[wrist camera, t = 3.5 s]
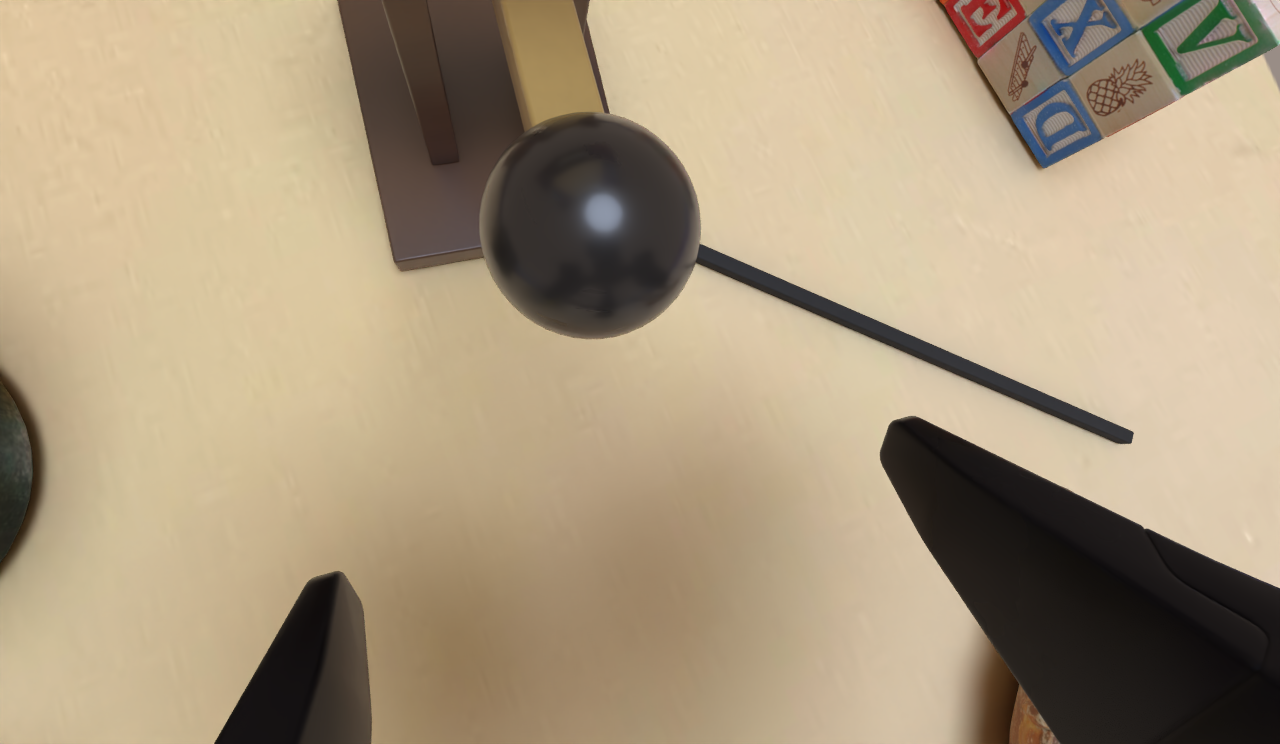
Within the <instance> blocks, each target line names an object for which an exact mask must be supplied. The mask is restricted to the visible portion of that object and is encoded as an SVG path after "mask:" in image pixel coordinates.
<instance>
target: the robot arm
mask: <svg viewBox="0 0 1280 744" xmlns="http://www.w3.org/2000/svg"><path fill="white" fill-rule="evenodd" d="M880 460H881V463H882V466H883V468H884V470H885V472H886V473H887V475H888V477H889V479H890V481H891V483H892V485H893V487H894V488H895V490H896V492H897V494H898V496H899V498H900V500H901V501H902V503H903V505H904V507H905V509H906V511H907V513H908V515H909V516H910V518H911V520H912V522H913V524H914V526H915V528H916V529H917V531H918V533H919V535H920V536H921V538H922V540H923V541H924V543H925V544H926V546H927V548H928V549H929V551H930V552H931V554H932V555H933V557H934V558H935V560H936V561H937V563H938V564H939V566H940V567H941V569H942V570H943V572H944V573H945V574H946V576H947V577H948V579H949V580H950V582H951V583H952V585H953V586H954V588H955V589H956V591H957V592H958V594H959V595H960V597H961V598H962V600H963V601H964V603H965V604H966V606H967V607H968V609H969V610H970V612H971V613H972V615H973V616H974V617H975V619H976V620H977V622H978V623H979V625H980V626H981V628H982V629H983V631H984V632H985V634H986V635H987V637H988V638H989V640H990V641H991V643H992V644H993V646H994V647H995V649H996V650H997V652H998V653H999V655H1000V656H1001V658H1002V659H1003V660H1004V662H1005V663H1006V665H1007V666H1008V668H1009V669H1010V671H1011V672H1012V674H1013V675H1014V677H1015V678H1016V680H1017V681H1018V683H1019V684H1020V686H1021V687H1022V689H1023V690H1024V692H1025V693H1026V695H1027V696H1028V698H1029V699H1030V701H1031V702H1032V703H1033V705H1034V706H1035V708H1036V709H1037V711H1038V712H1039V714H1040V715H1041V717H1042V718H1043V720H1044V721H1045V723H1046V724H1047V726H1048V727H1049V729H1050V730H1051V732H1052V733H1053V735H1054V736H1055V738H1056V739H1057V741H1058V742H1059V744H1280V588H1278V587H1275V586H1273V585H1270V584H1268V583H1266V582H1263V581H1261V580H1259V579H1256V578H1254V577H1252V576H1249V575H1247V574H1245V573H1243V572H1240V571H1238V570H1236V569H1233V568H1231V567H1229V566H1226V565H1224V564H1222V563H1220V562H1217V561H1215V560H1213V559H1211V558H1209V557H1206V556H1204V555H1202V554H1200V553H1198V552H1196V551H1194V550H1191V549H1189V548H1187V547H1185V546H1183V545H1181V544H1179V543H1177V542H1174V541H1172V540H1170V539H1168V538H1166V537H1164V536H1162V535H1160V534H1158V533H1156V532H1154V531H1152V530H1150V529H1144V528H1143V527H1142V526H1141V525H1139V524H1137V523H1135V522H1133V521H1131V520H1129V519H1127V518H1125V517H1123V516H1121V515H1119V514H1116V513H1114V512H1112V511H1110V510H1108V509H1106V508H1104V507H1102V506H1100V505H1098V504H1096V503H1094V502H1092V501H1090V500H1088V499H1086V498H1084V497H1081V496H1079V495H1077V494H1075V493H1073V492H1071V491H1069V490H1067V489H1065V488H1063V487H1061V486H1059V485H1057V484H1055V483H1053V482H1051V481H1049V480H1047V479H1044V478H1042V477H1040V476H1038V475H1036V474H1034V473H1032V472H1030V471H1028V470H1026V469H1024V468H1022V467H1020V466H1018V465H1016V464H1014V463H1012V462H1010V461H1007V460H1005V459H1003V458H1001V457H999V456H997V455H995V454H993V453H991V452H989V451H987V450H985V449H983V448H981V447H979V446H977V445H975V444H972V443H970V442H968V441H966V440H964V439H962V438H960V437H958V436H956V435H954V434H952V433H950V432H948V431H946V430H944V429H942V428H940V427H938V426H935V425H933V424H931V423H929V422H927V421H925V420H923V419H921V418H919V417H916V416H908V417H905V418H901V419H897V420H894V421H892V422H891V423H890V425H889V427H888V430H887V433H886V435H885V438H884V441H883V444H882V447H881V450H880ZM371 734H372V716H371V699H370V686H369V673H368V660H367V647H366V633H365V620H364V611H363V607H362V603H361V600H360V599H359V597H358V595H357V594H356V592H355V590H354V589H353V587H352V586H351V584H350V582H349V581H348V579H347V578H346V576H345V575H344V574H343V573H342V572H340V571H335V572H331V573H328V574H324V575H320V576H317V577H314V578H312V579H311V580H309V581H308V582H307V584H306V585H305V587H304V588H303V590H302V592H301V594H300V595H299V597H298V599H297V601H296V602H295V604H294V606H293V607H292V609H291V611H290V613H289V614H288V616H287V618H286V620H285V621H284V623H283V625H282V627H281V628H280V630H279V632H278V634H277V635H276V637H275V639H274V641H273V642H272V644H271V646H270V647H269V649H268V651H267V653H266V654H265V656H264V658H263V660H262V661H261V663H260V665H259V667H258V668H257V670H256V672H255V674H254V675H253V677H252V679H251V680H250V682H249V684H248V686H247V687H246V689H245V691H244V693H243V694H242V696H241V698H240V700H239V701H238V703H237V705H236V707H235V708H234V710H233V712H232V713H231V715H230V717H229V719H228V720H227V722H226V724H225V726H224V727H223V729H222V731H221V733H220V734H219V736H218V738H217V740H216V741H215V743H214V744H371Z"/></svg>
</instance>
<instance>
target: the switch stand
mask: <svg viewBox="0 0 1280 744" xmlns="http://www.w3.org/2000/svg"><path fill="white" fill-rule="evenodd" d="M337 1H338V5H339V10H340V15H341V19H342V24H343V28H344V33H345V38H346V42H347V47H348V52H349V56H350V61H351V65H352V70H353V75H354V79H355V84H356V89H357V93H358V98H359V102H360V107H361V112H362V116H363V121H364V125H365V130H366V135H367V139H368V144H369V149H370V153H371V158H372V162H373V167H374V172H375V176H376V181H377V186H378V190H379V195H380V199H381V204H382V209H383V213H384V218H385V223H386V227H387V232H388V236H389V241H390V246H391V250H392V255H393V260H394V262H395V264H396V265H397V266H398V268H399V269H400V271H406V270H412V269H417V268H423V267H429V266H435V265H441V264H446V263H452V262H458V261H464V260H470V259H475V258H481V257H484V255H483V251H482V248H481V241H480V233H479V213H480V205H481V200H482V196H483V192H484V189H485V186H486V182H487V180H488V178H489V175H490V173H491V171H492V169H493V168H494V166H495V164H496V163H497V161H498V160H499V158H500V157H501V155H502V154H503V152H504V151H505V150H506V149H507V148H508V147H509V146H510V145H511V143H512V142H514V141H515V140H516V139H517V138H518V137H520V136H521V135H522V134H523V133H525V131H524V127H523V123H522V119H521V115H520V111H519V107H518V103H517V99H516V95H515V91H514V87H513V83H512V79H511V75H510V71H509V67H508V63H507V59H506V55H505V51H504V47H503V44H502V40H501V36H500V32H499V28H498V24H497V20H496V16H495V12H494V8H493V4H492V0H337ZM589 1H590V0H573V2H574V5H575V9H576V12H577V16H578V20H579V23H580V27H581V30H582V34H583V38H584V41H585V45H586V48H587V52H588V56H589V59H590V63H591V66H592V70H593V74H594V77H595V81H596V84H597V88H598V91H599V95H600V99H601V102H602V106H603V109H604V113H607V114H610V113H609V109H608V105H607V101H606V97H605V93H604V89H603V84H602V80H601V76H600V72H599V68H598V64H597V60H596V56H595V52H594V48H593V44H592V40H591V36H590V32H589V28H588V24H587V20H586V19H587V13H588V7H589Z"/></svg>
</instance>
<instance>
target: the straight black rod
mask: <svg viewBox="0 0 1280 744" xmlns="http://www.w3.org/2000/svg"><path fill="white" fill-rule="evenodd" d="M696 262H697V263H699V264H702V265H704V266H706V267H709V268H711V269H713V270H716V271H718V272H720V273H723V274H725V275H727V276H730V277H732V278H734V279H737V280H739V281H741V282H744V283H746V284H748V285H750V286H753V287H755V288H757V289H760V290H762V291H764V292H767V293H769V294H771V295H774V296H776V297H778V298H781V299H783V300H785V301H788V302H790V303H792V304H795V305H797V306H799V307H802V308H804V309H806V310H809V311H811V312H813V313H816V314H818V315H820V316H823V317H825V318H827V319H830V320H832V321H834V322H837V323H839V324H841V325H844V326H846V327H848V328H851V329H853V330H855V331H858V332H860V333H862V334H865V335H867V336H869V337H872V338H874V339H876V340H879V341H881V342H883V343H886V344H888V345H890V346H893V347H895V348H897V349H900V350H902V351H904V352H907V353H909V354H911V355H914V356H916V357H918V358H921V359H923V360H925V361H928V362H930V363H932V364H935V365H937V366H939V367H942V368H944V369H946V370H949V371H951V372H953V373H956V374H958V375H960V376H963V377H965V378H967V379H970V380H972V381H974V382H977V383H979V384H981V385H984V386H986V387H988V388H991V389H993V390H995V391H998V392H1000V393H1002V394H1005V395H1007V396H1009V397H1012V398H1014V399H1016V400H1019V401H1021V402H1023V403H1026V404H1028V405H1030V406H1033V407H1035V408H1037V409H1040V410H1042V411H1044V412H1047V413H1049V414H1051V415H1054V416H1056V417H1058V418H1061V419H1063V420H1065V421H1068V422H1070V423H1072V424H1075V425H1077V426H1079V427H1082V428H1084V429H1086V430H1089V431H1091V432H1093V433H1096V434H1098V435H1100V436H1103V437H1105V438H1107V439H1110V440H1112V441H1114V442H1117V443H1119V444H1131V443H1132V439H1133V434H1134V433H1133V432H1132V431H1130V430H1128V429H1125V428H1123V427H1121V426H1119V425H1116V424H1114V423H1112V422H1109V421H1107V420H1105V419H1102V418H1100V417H1098V416H1095V415H1093V414H1091V413H1089V412H1086V411H1084V410H1082V409H1079V408H1077V407H1075V406H1072V405H1070V404H1068V403H1066V402H1063V401H1061V400H1059V399H1056V398H1054V397H1052V396H1049V395H1047V394H1045V393H1042V392H1040V391H1038V390H1036V389H1033V388H1031V387H1029V386H1026V385H1024V384H1022V383H1019V382H1017V381H1015V380H1013V379H1010V378H1008V377H1006V376H1003V375H1001V374H999V373H996V372H994V371H992V370H989V369H987V368H985V367H983V366H980V365H978V364H976V363H973V362H971V361H969V360H966V359H964V358H962V357H959V356H957V355H955V354H953V353H950V352H948V351H946V350H943V349H941V348H939V347H936V346H934V345H932V344H930V343H927V342H925V341H923V340H920V339H918V338H916V337H913V336H911V335H909V334H906V333H904V332H902V331H900V330H897V329H895V328H893V327H890V326H888V325H886V324H883V323H881V322H879V321H877V320H874V319H872V318H870V317H867V316H865V315H863V314H860V313H858V312H856V311H853V310H851V309H849V308H847V307H844V306H842V305H840V304H837V303H835V302H833V301H830V300H828V299H826V298H824V297H821V296H819V295H817V294H814V293H812V292H810V291H807V290H805V289H803V288H800V287H798V286H796V285H794V284H791V283H789V282H787V281H784V280H782V279H780V278H777V277H775V276H773V275H771V274H768V273H766V272H764V271H761V270H759V269H757V268H754V267H752V266H750V265H747V264H745V263H743V262H741V261H738V260H736V259H734V258H731V257H729V256H727V255H724V254H722V253H720V252H718V251H715V250H713V249H711V248H708V247H706V246H704V245H701V244H699V250H698V255H697V259H696Z"/></svg>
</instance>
